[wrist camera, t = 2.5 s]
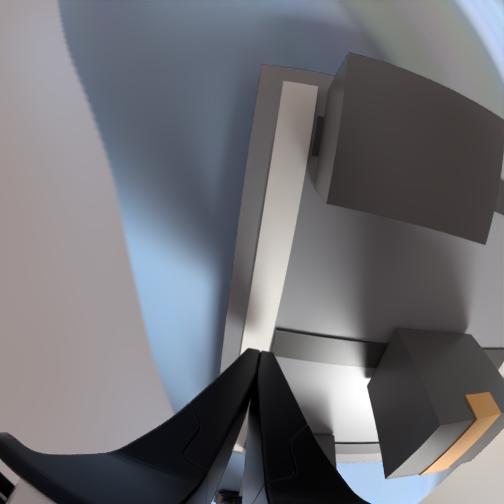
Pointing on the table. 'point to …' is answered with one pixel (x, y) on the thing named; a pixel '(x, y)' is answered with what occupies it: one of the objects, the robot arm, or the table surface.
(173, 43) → the table surface
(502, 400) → the block
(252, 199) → the panel
